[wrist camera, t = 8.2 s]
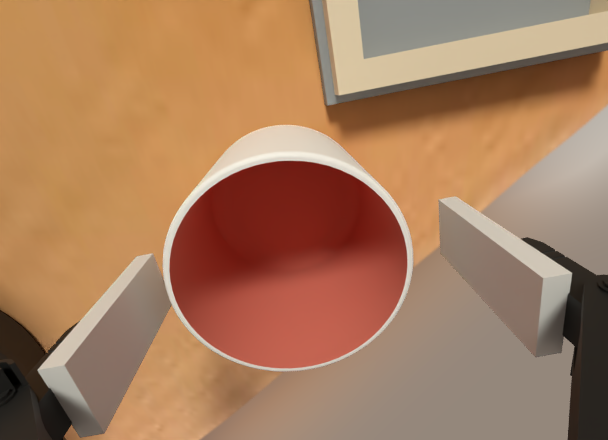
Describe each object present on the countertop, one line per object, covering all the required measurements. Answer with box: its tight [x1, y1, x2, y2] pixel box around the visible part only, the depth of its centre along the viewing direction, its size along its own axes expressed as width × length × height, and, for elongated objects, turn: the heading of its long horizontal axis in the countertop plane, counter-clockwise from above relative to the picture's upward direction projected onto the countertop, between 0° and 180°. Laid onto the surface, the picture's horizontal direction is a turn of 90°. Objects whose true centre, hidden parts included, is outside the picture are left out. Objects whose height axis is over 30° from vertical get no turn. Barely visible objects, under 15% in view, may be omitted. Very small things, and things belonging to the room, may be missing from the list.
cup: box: [163, 125, 413, 372], centre depth 18 cm, size 10×10×10 cm
